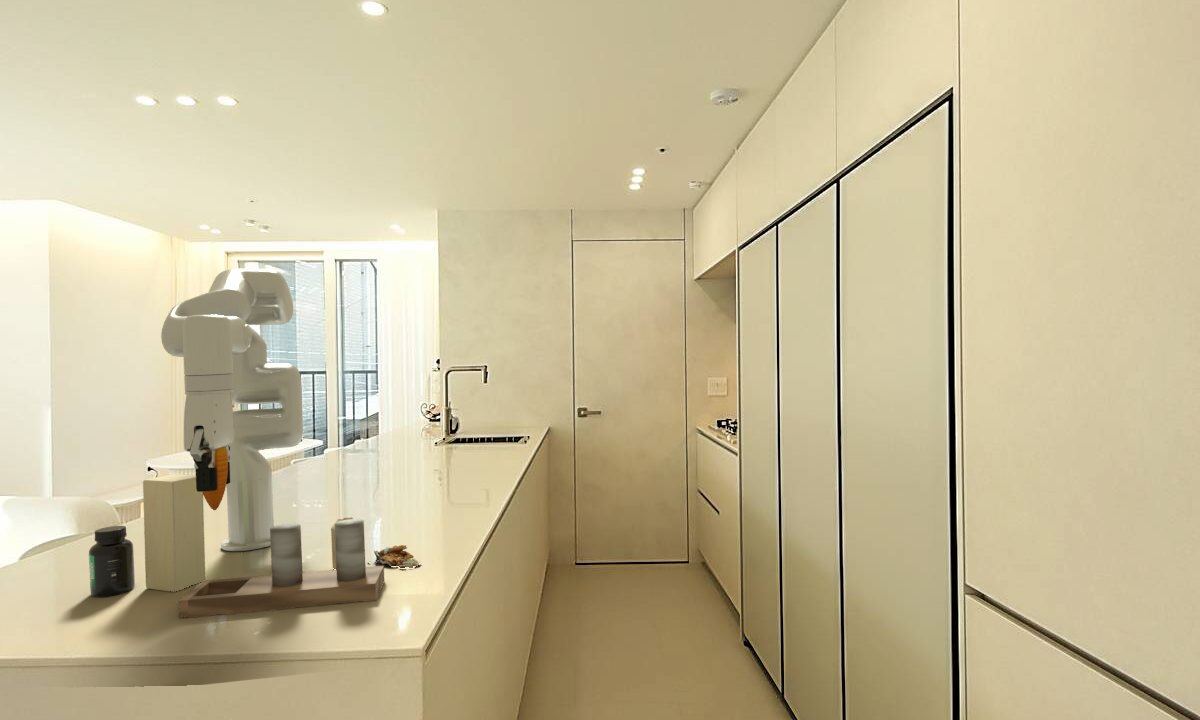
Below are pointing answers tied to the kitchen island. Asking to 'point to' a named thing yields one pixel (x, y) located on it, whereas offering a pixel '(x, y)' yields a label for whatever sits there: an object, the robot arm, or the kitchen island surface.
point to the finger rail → (277, 596)
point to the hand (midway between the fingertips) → (213, 486)
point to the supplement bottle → (111, 562)
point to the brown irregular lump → (396, 557)
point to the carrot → (218, 478)
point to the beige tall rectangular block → (173, 532)
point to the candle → (334, 542)
